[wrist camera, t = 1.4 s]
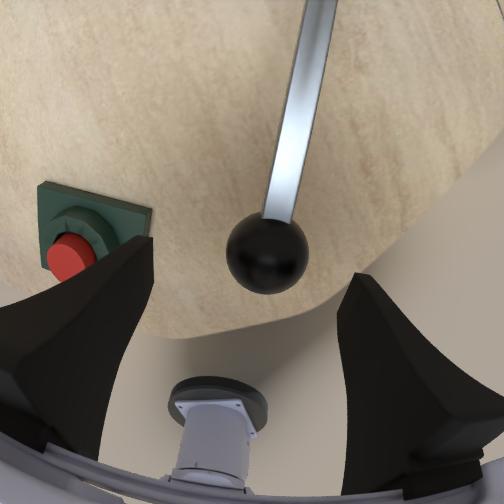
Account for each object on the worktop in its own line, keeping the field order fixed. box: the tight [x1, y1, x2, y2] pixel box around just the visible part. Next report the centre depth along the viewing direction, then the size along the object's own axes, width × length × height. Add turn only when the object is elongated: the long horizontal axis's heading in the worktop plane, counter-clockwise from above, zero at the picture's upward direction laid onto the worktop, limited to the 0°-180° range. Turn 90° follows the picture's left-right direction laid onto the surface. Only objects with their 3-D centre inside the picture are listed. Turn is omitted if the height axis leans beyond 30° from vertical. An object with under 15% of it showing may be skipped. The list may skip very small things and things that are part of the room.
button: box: [47, 233, 96, 282], centre depth 21 cm, size 4×4×2 cm
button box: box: [37, 181, 152, 271], centre depth 23 cm, size 10×8×3 cm
